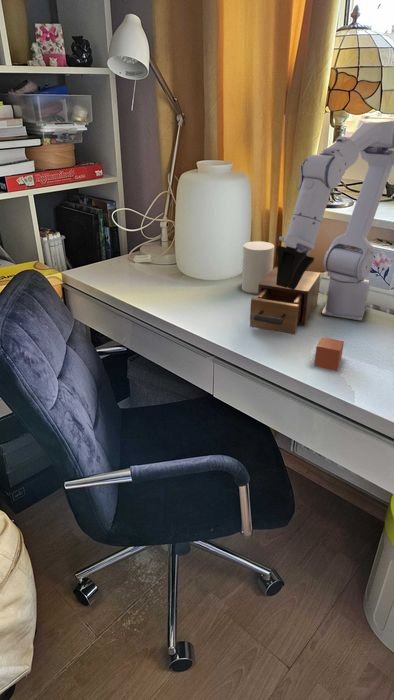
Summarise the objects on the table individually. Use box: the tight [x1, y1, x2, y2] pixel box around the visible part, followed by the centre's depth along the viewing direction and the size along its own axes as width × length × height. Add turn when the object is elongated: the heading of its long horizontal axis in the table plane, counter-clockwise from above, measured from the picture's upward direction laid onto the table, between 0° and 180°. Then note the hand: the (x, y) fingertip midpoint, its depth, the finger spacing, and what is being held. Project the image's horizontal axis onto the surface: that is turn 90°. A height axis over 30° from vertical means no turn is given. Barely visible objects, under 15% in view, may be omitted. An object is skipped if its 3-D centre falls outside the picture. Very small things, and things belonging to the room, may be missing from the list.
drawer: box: [249, 288, 305, 335], centre depth 108 cm, size 17×10×7 cm, turn 156°
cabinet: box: [257, 266, 321, 327], centre depth 116 cm, size 14×12×9 cm
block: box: [313, 336, 345, 372], centre depth 94 cm, size 4×4×4 cm
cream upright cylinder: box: [241, 240, 275, 295], centre depth 129 cm, size 8×8×12 cm
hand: (285, 287), depth 95 cm, fingers open, 7 cm apart
